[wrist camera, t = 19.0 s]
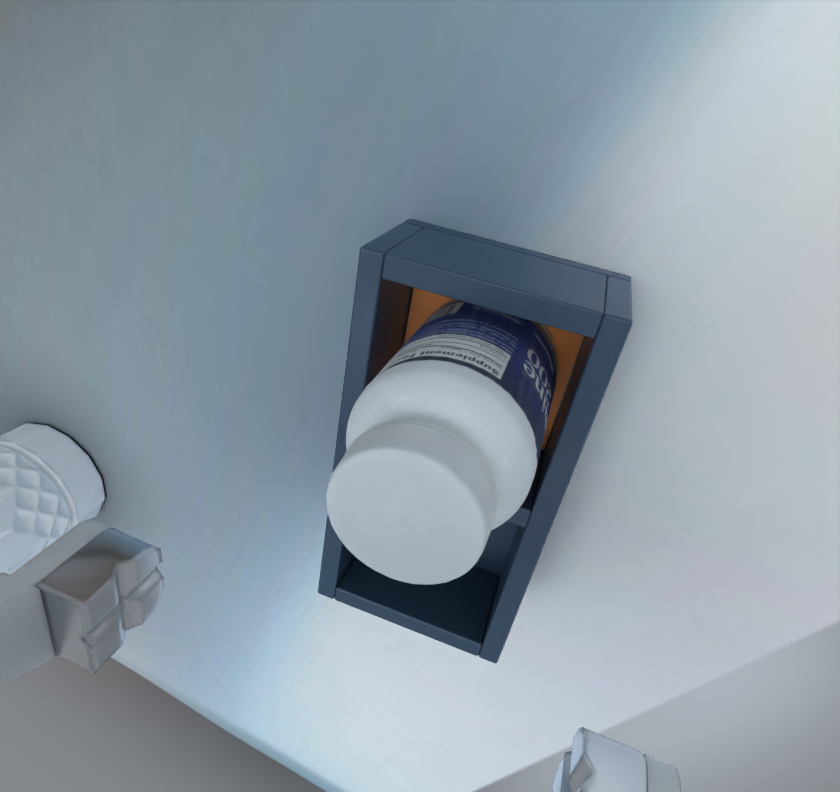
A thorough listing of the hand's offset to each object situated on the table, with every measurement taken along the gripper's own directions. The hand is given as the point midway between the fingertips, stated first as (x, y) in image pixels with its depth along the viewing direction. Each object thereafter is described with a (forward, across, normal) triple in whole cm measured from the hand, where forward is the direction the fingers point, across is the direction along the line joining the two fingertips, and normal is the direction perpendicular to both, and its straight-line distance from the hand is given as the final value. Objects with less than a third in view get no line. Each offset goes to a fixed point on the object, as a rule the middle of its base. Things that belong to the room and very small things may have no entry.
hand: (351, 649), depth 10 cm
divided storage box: (+14, +1, +4) cm, 15 cm away
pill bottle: (+13, 0, 0) cm, 13 cm away
